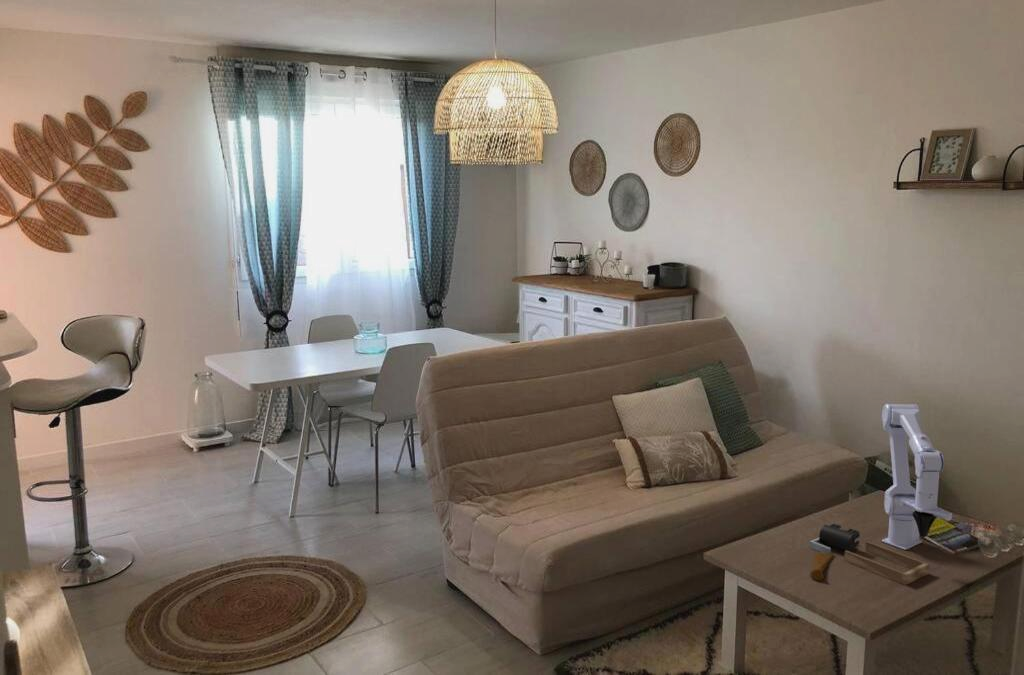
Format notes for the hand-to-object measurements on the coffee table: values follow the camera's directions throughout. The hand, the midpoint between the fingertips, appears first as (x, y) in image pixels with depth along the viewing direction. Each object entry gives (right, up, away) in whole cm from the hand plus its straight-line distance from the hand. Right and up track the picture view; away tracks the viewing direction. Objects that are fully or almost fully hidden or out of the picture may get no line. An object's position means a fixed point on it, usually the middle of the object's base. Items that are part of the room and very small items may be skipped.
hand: (923, 535), depth 244 cm
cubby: (-10, -10, +3) cm, 15 cm away
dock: (-20, -7, +17) cm, 27 cm away
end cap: (-19, -8, +15) cm, 25 cm away
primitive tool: (-29, -11, +4) cm, 31 cm away
